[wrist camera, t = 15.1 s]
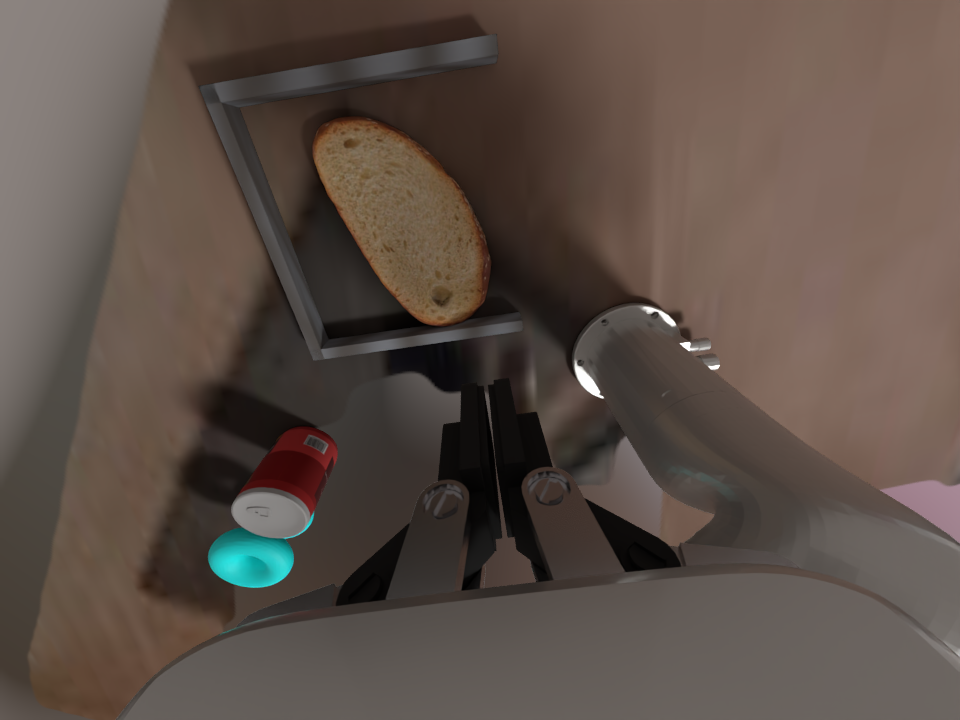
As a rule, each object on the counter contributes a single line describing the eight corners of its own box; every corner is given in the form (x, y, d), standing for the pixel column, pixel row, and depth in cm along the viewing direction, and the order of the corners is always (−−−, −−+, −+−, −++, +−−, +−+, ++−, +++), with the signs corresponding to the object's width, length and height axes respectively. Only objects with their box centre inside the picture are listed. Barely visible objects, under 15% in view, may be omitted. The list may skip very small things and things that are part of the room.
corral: (494, 44, 28) (496, 33, 26) (520, 321, 40) (523, 330, 38) (218, 92, 29) (198, 85, 27) (322, 350, 41) (313, 360, 39)
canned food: (271, 424, 46) (219, 493, 36) (333, 423, 46) (298, 491, 36) (286, 467, 49) (243, 540, 40) (344, 466, 50) (314, 538, 40)
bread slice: (312, 105, 30) (293, 97, 27) (514, 151, 32) (520, 149, 29) (318, 301, 39) (304, 314, 35) (478, 328, 41) (479, 342, 37)
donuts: (209, 589, 46) (195, 541, 41) (251, 521, 55) (243, 475, 50) (289, 594, 47) (284, 548, 42) (317, 527, 56) (316, 483, 51)
